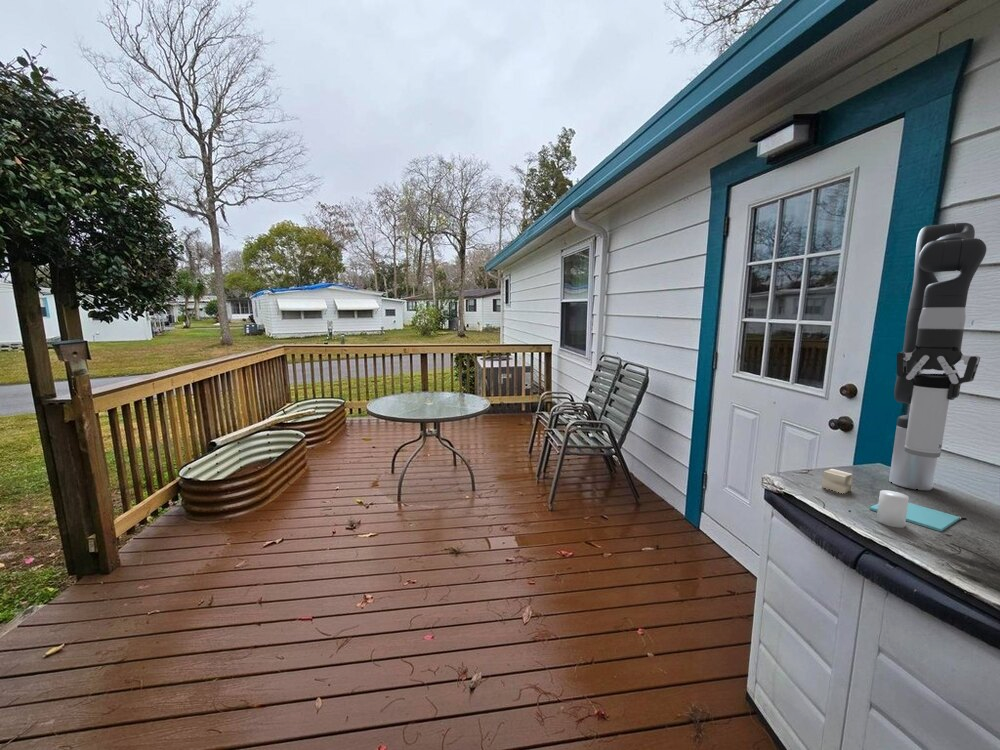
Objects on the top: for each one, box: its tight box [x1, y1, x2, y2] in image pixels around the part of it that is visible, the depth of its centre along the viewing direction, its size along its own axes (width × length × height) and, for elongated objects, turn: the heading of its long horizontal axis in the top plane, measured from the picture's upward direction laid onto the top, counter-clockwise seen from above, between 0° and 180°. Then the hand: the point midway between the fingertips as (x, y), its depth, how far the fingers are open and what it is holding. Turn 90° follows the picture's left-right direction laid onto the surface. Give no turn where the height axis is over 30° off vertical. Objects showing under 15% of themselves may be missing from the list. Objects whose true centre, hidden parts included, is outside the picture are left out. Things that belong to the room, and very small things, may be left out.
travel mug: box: [904, 372, 951, 459], centre depth 101 cm, size 6×7×20 cm
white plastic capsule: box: [876, 489, 910, 529], centre depth 99 cm, size 5×5×7 cm
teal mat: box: [869, 502, 961, 533], centre depth 104 cm, size 13×13×1 cm
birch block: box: [821, 468, 854, 495], centre depth 120 cm, size 5×5×5 cm
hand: (930, 396), depth 101 cm, fingers closed on travel mug, 6 cm apart
